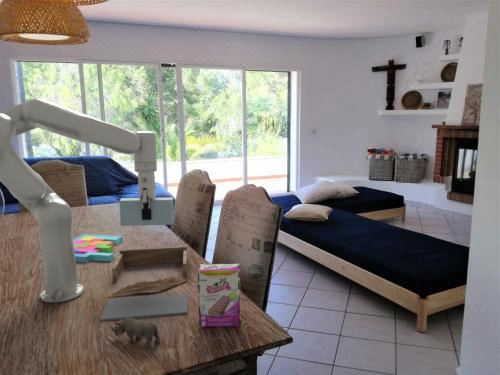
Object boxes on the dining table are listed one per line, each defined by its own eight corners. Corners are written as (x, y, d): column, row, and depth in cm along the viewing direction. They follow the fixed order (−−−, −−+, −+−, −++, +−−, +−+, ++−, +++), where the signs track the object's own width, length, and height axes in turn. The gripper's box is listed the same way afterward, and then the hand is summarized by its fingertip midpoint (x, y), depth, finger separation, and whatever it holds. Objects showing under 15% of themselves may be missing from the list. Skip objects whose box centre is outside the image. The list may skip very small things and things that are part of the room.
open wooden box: (186, 277, 141) (186, 261, 140) (112, 282, 137) (111, 265, 136) (187, 260, 157) (186, 245, 156) (121, 264, 154) (120, 249, 153)
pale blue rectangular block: (172, 224, 141) (172, 199, 140) (120, 226, 139) (119, 200, 137) (173, 221, 145) (173, 197, 144) (123, 222, 143) (121, 198, 142)
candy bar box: (199, 328, 106) (196, 270, 103) (200, 319, 111) (198, 263, 108) (241, 327, 106) (239, 269, 104) (240, 318, 111) (239, 262, 109)
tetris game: (43, 260, 160) (106, 264, 155) (42, 254, 160) (105, 258, 154) (84, 239, 187) (139, 242, 182) (84, 234, 187) (139, 236, 181)
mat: (187, 313, 114) (187, 311, 114) (100, 320, 111) (100, 318, 111) (187, 295, 126) (187, 293, 126) (109, 301, 123) (108, 299, 123)
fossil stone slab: (182, 276, 142) (182, 273, 142) (190, 288, 132) (190, 285, 132) (106, 290, 132) (106, 287, 132) (109, 303, 122) (109, 300, 122)
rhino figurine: (116, 332, 105) (115, 311, 104) (163, 340, 101) (161, 318, 100) (106, 341, 101) (104, 319, 100) (154, 349, 97) (153, 326, 96)
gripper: (154, 169, 131) (156, 223, 134) (158, 164, 148) (160, 212, 151) (131, 170, 130) (133, 224, 133) (137, 164, 147) (139, 212, 149)
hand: (147, 217), depth 142 cm, fingers closed on pale blue rectangular block, 4 cm apart
